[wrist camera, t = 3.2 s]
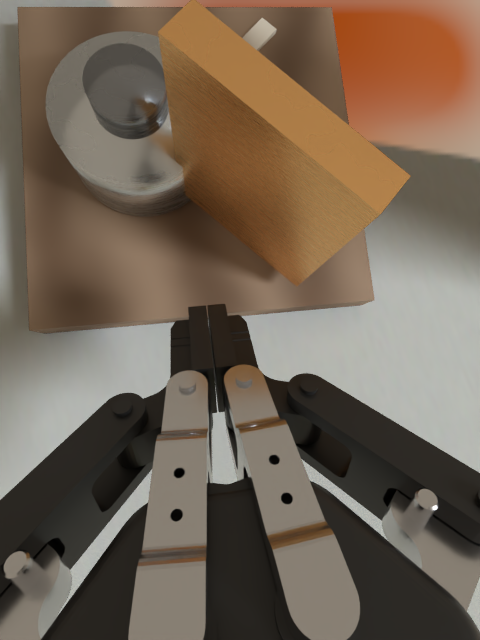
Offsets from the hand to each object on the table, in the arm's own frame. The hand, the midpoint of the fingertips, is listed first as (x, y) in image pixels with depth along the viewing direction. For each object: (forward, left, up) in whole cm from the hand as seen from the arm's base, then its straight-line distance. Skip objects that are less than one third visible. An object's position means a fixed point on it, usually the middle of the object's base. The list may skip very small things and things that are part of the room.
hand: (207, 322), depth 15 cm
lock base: (0, -11, -8) cm, 14 cm away
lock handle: (0, -8, -6) cm, 10 cm away
